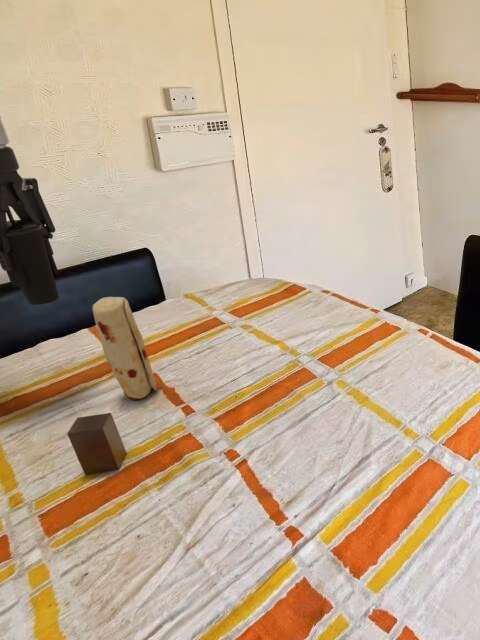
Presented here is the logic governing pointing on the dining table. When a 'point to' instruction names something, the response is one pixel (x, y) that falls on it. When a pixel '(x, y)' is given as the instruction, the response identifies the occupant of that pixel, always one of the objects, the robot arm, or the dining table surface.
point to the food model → (124, 346)
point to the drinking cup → (32, 260)
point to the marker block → (97, 443)
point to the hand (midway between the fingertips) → (36, 279)
